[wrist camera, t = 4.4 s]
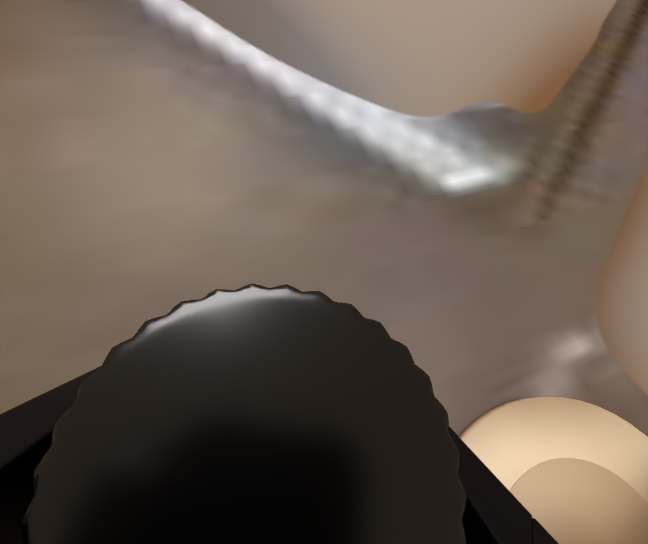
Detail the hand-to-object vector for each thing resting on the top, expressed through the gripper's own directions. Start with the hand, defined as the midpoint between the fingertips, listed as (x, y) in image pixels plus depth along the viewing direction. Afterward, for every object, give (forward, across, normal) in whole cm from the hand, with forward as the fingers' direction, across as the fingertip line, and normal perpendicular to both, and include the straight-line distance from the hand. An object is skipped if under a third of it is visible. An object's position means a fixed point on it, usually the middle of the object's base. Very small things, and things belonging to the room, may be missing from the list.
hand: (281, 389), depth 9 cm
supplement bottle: (+4, 0, +6) cm, 7 cm away
